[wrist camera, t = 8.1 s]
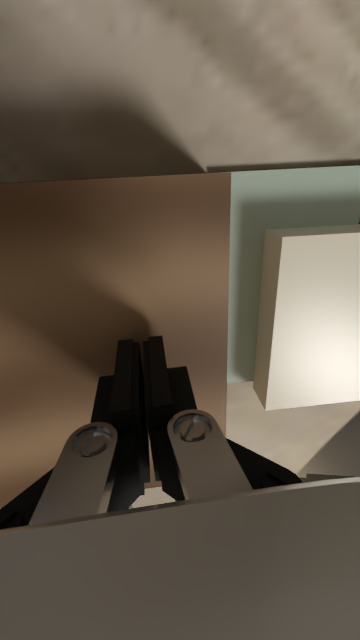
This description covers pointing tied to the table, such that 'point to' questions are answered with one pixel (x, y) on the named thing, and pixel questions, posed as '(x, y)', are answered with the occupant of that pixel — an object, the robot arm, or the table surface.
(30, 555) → the robot arm
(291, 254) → the cream rectangular block
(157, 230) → the flat brown wooden block
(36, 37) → the table surface
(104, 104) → the table surface
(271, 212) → the mat
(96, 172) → the table surface
